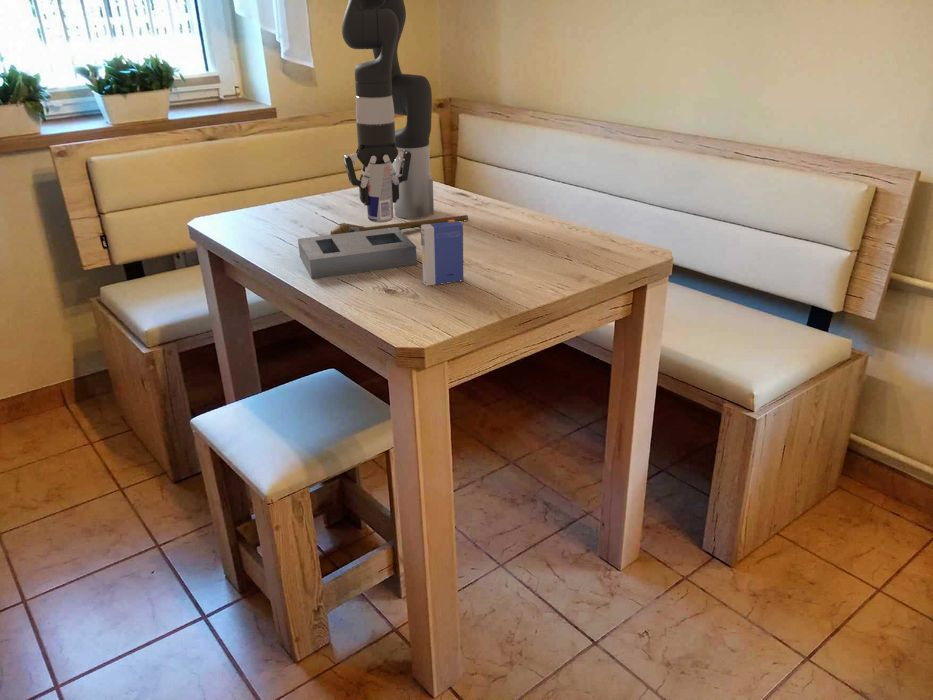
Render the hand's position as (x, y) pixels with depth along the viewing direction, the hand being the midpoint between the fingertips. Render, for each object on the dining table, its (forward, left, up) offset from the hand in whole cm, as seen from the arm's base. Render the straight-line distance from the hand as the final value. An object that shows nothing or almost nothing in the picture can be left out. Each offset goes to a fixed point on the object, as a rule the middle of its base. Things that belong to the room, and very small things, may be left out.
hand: (379, 203), depth 156 cm
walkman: (-7, +18, -12) cm, 23 cm away
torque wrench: (-9, -15, -12) cm, 21 cm away
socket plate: (+6, 0, -12) cm, 13 cm away
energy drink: (0, 0, -4) cm, 4 cm away
